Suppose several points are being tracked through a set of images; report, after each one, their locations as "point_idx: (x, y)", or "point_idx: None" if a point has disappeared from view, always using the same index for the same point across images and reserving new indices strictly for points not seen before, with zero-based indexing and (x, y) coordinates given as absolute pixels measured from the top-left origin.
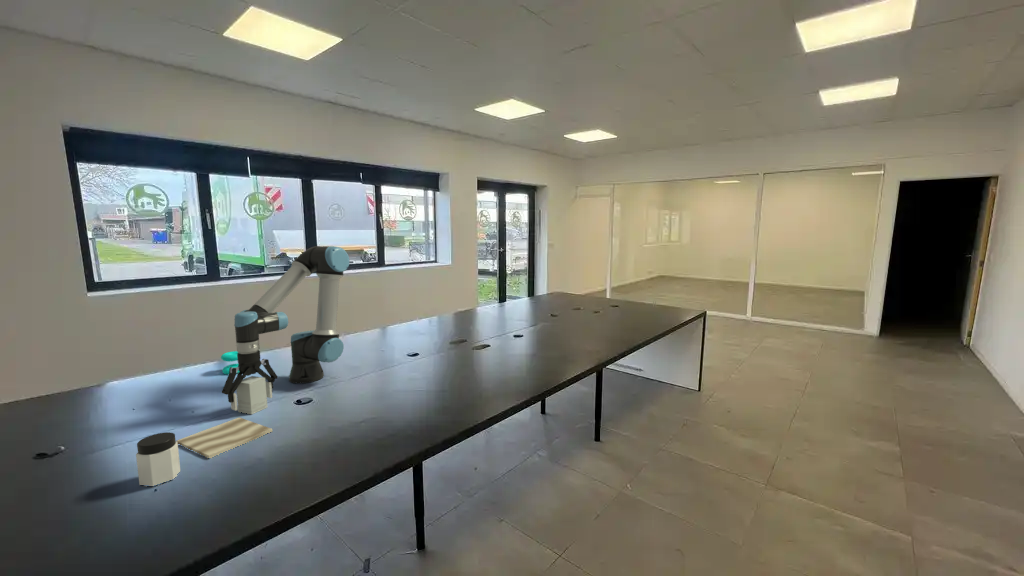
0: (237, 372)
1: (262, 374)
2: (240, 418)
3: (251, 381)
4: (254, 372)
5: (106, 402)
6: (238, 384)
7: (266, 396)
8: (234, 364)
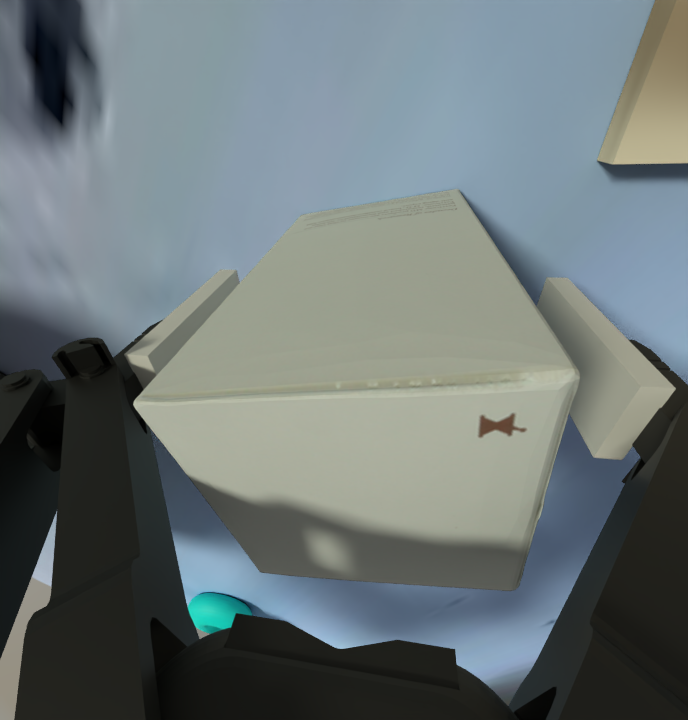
0: (220, 598)
1: (129, 512)
2: (646, 111)
3: (433, 443)
4: (256, 672)
5: (525, 664)
6: (672, 512)
7: (272, 248)
8: (210, 631)
